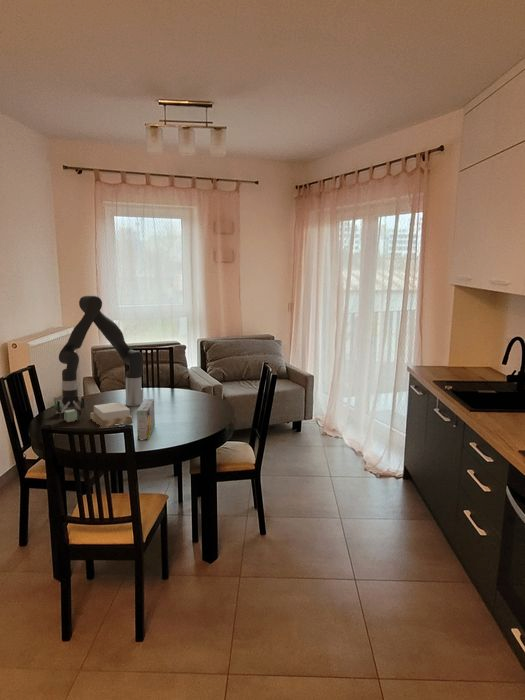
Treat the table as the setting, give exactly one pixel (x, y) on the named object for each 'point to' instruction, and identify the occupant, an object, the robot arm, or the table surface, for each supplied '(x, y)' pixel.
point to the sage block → (70, 415)
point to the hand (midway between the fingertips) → (70, 417)
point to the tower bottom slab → (110, 422)
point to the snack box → (145, 419)
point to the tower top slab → (111, 411)
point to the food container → (60, 404)
